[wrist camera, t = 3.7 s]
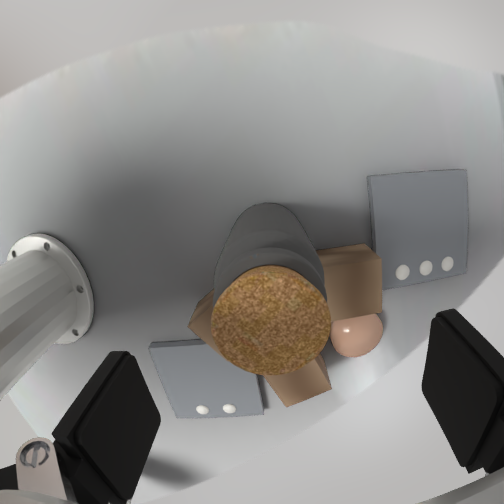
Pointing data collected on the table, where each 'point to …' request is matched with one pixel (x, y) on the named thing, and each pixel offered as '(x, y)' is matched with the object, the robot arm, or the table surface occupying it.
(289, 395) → the block
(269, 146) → the table surface
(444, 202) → the pad three
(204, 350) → the pad two
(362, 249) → the block
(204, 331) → the block
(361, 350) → the peach glossy rounded part
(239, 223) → the bottle
